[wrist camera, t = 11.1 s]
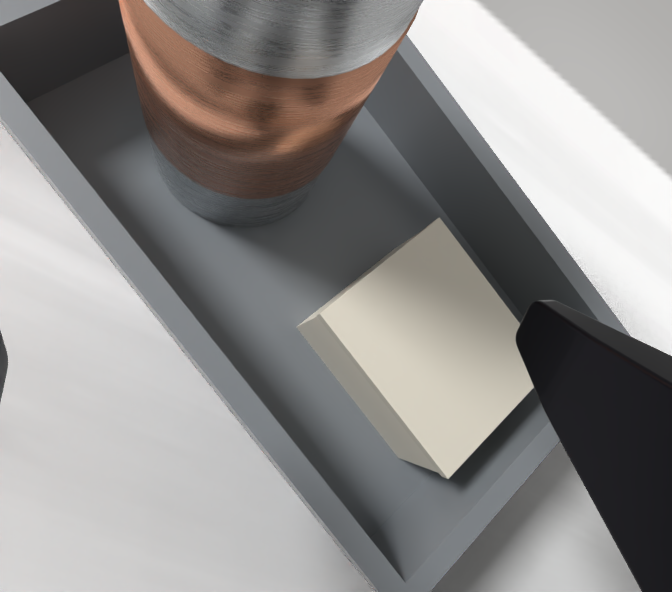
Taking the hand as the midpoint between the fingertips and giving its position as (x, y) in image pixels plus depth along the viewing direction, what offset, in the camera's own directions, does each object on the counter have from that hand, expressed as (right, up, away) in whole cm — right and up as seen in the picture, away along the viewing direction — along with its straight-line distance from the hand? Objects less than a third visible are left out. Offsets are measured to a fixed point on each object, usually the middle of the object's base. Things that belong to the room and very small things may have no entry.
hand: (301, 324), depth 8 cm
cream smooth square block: (+3, -1, +10) cm, 10 cm away
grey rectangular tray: (0, +2, +10) cm, 11 cm away
